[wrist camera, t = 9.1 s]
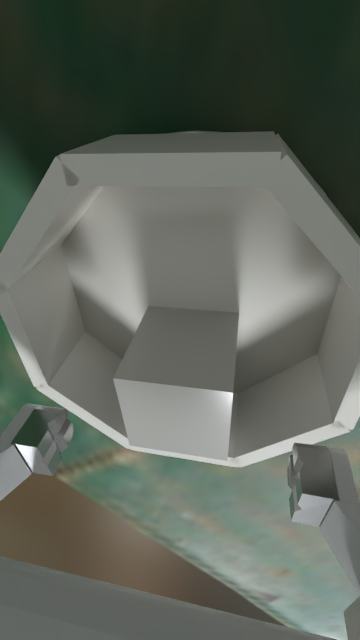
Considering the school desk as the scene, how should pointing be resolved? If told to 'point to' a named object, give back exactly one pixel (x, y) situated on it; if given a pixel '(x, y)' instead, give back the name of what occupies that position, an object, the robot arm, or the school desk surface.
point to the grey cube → (180, 381)
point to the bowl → (190, 280)
